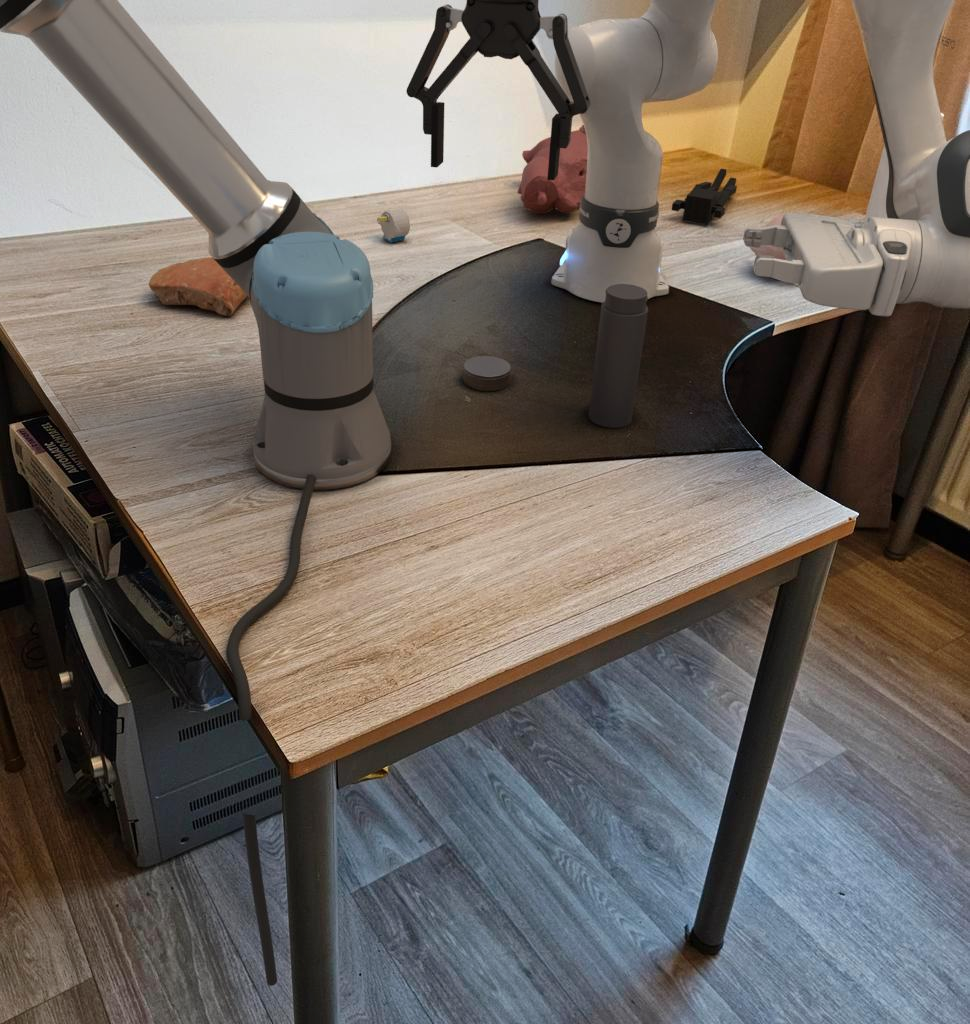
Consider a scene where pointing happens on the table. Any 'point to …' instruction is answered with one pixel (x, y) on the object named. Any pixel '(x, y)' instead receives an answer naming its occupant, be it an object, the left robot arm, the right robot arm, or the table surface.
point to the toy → (706, 200)
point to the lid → (486, 373)
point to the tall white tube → (883, 181)
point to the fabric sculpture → (567, 183)
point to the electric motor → (394, 225)
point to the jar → (618, 355)
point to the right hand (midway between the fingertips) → (749, 250)
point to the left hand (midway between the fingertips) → (494, 171)
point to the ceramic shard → (198, 286)
